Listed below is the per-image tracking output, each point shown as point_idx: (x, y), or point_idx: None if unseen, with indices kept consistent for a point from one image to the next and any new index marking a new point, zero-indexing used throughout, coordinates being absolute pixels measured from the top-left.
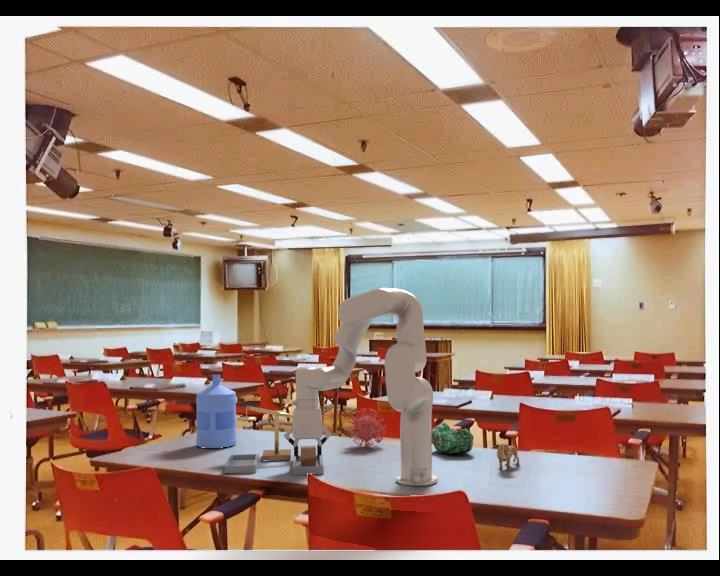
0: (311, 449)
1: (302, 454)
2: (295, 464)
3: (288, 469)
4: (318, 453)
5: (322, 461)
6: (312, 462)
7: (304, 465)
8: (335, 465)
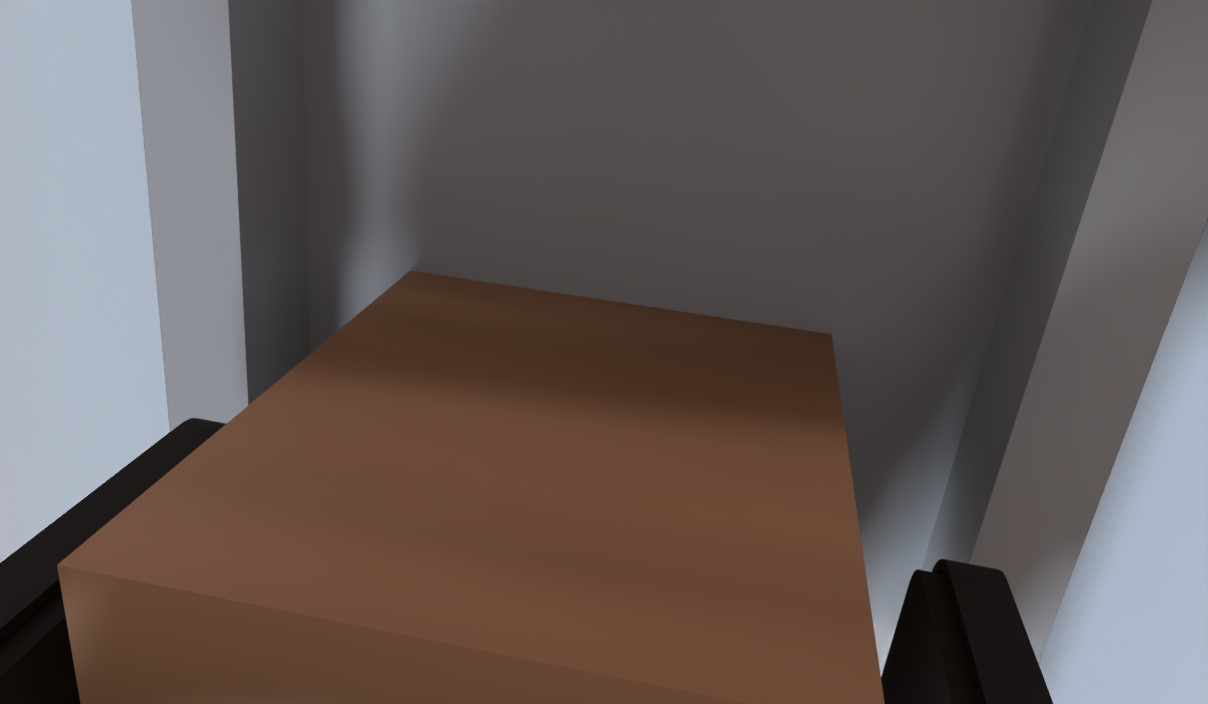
0: (301, 585)
1: (784, 528)
2: (1098, 184)
3: (1118, 511)
4: (130, 502)
5: (175, 354)
6: (466, 326)
7: (725, 334)
8: (32, 519)
